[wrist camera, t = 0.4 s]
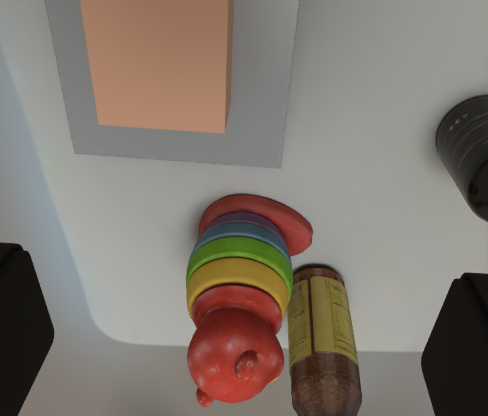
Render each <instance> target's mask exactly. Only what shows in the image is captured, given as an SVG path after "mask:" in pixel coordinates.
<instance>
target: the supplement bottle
mask: <svg viewBox="0 0 488 416" xmlns="http://www.w3.org/2000/svg"><path fill="white" fill-rule="evenodd" d="M437 150H438V153H439V155H440V157H441V159H442V161H443V163H444V164H445V166H446V168H447V170H448V171H449V173H450V175H451V176H452V178H453V180H454V182H455V183H456V185H457V187H458V189H459V190H460V192H461V194H462V195H463V197H464V199H465V201H466V202H467V204H468V205H469V207H470V208H471V210H472V211H473V212H474V213H475V214H476V215H477V216H478V217H479V218H481V219H482V220H484V221H486V222H488V96H484V97H478V98H474V99H471V100H469V101H467V102H465V103H463V104H461V105H459V106H458V107H456V108H455V109H454V110H453V111H452V112H451V113H450V114H449V115H448V116H447V117H446V118H445V120H444V121H443V123H442V124H441V126H440V128H439V131H438V134H437Z"/></svg>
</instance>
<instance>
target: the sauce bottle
mask: <svg viewBox="0 0 488 416" xmlns="http://www.w3.org/2000/svg"><path fill="white" fill-rule="evenodd" d="M287 311H288V340H289V372H290V376H291V394H292V405H293V408H294V410H295V411H296V413H297V414H298V416H357V413H358V411H359V408H360V406H361V403H362V393H361V385H360V378H359V367H358V359H357V352H356V346H355V339H354V333H353V327H352V321H351V315H350V310H349V303H348V297H347V292H346V289H345V285H344V282H343V280H342V279H341V278H340V277H339V275H337V274H336V273H335V272H333V271H331V270H330V269H328V268H326V269H325V268H308V269H304V270H302V271H299V272H298V273H297V274H295V275H294V276H293V287H292V293H291V297H290V301H289V303H288V306H287Z"/></svg>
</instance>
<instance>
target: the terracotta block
mask: <svg viewBox="0 0 488 416" xmlns="http://www.w3.org/2000/svg"><path fill="white" fill-rule="evenodd" d="M80 5H81V12H82V18H83V25H84V31H85V38H86V44H87V51H88V58H89V64H90V71H91V77H92V84H93V90H94V97H95V104H96V110H97V117H98V123H99V125H109V126H123V127H137V128H151V129H165V130H179V131H193V132H207V133H222V134H225V130H226V125H227V120H228V115H229V110H230V106H231V77H232V46H233V16H234V0H80Z"/></svg>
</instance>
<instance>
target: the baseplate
mask: <svg viewBox="0 0 488 416" xmlns="http://www.w3.org/2000/svg"><path fill="white" fill-rule="evenodd" d="M45 4H46V9H47V14H48V20H49V25H50V30H51V35H52V40H53V45H54V50H55V56H56V61H57V66H58V71H59V76H60V81H61V87H62V92H63V97H64V102H65V107H66V112H67V118H68V123H69V128H70V133H71V138H72V143H73V148H74V154H88V155H102V156H115V157H129V158H143V159H157V160H171V161H185V162H198V163H212V164H226V165H240V166H254V167H268V168H281V160H282V151H283V141H284V132H285V123H286V114H287V105H288V96H289V87H290V78H291V69H292V60H293V51H294V42H295V33H296V24H297V15H298V6H299V0H234V16H233V46H232V77H231V106H230V110H229V115H228V120H227V125H226V130H225V134H222V133H207V132H193V131H179V130H165V129H151V128H137V127H123V126H109V125H99V123H98V117H97V110H96V104H95V97H94V90H93V84H92V77H91V71H90V64H89V58H88V51H87V44H86V38H85V31H84V25H83V18H82V12H81V5H80V0H45Z"/></svg>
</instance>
